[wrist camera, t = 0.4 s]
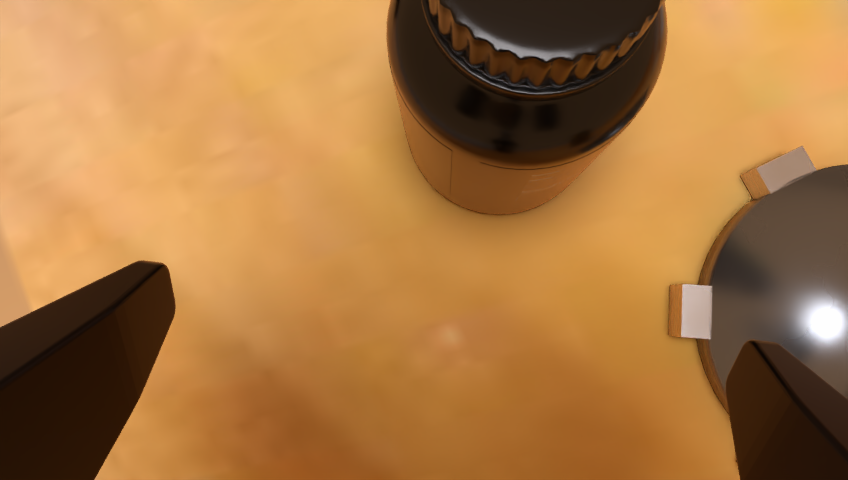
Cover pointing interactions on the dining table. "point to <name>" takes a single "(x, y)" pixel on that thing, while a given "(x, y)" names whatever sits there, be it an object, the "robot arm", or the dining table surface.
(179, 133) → the dining table surface
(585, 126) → the supplement bottle
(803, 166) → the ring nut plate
